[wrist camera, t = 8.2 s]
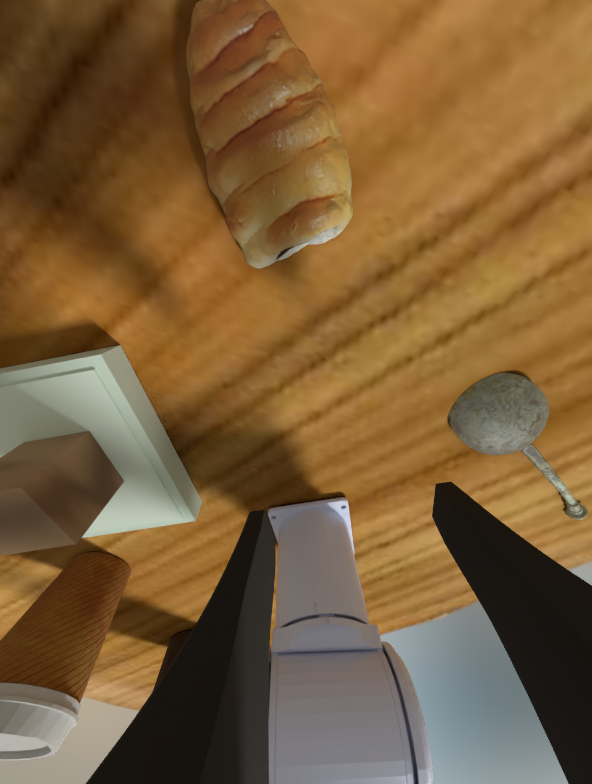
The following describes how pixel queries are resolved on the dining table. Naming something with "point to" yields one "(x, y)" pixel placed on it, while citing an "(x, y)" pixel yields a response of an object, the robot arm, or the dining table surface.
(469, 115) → the dining table surface
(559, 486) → the soupspoon
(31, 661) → the disposable coffee cup
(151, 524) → the serving board
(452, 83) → the dining table surface
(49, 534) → the walnut block
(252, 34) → the pastry
